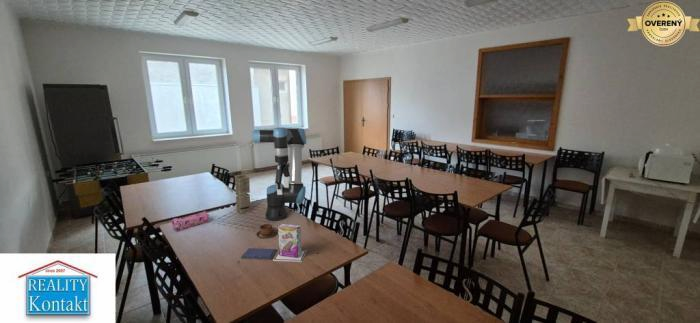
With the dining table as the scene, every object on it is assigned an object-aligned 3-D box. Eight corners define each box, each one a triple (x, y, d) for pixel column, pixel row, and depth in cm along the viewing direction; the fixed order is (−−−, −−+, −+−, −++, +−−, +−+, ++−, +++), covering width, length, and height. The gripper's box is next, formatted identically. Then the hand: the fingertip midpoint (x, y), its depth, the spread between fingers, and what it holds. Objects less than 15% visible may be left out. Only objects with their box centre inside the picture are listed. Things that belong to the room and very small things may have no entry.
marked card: (280, 249, 162) (280, 249, 162) (306, 250, 161) (306, 250, 160) (272, 260, 150) (272, 260, 150) (301, 261, 149) (301, 261, 149)
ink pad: (249, 249, 162) (248, 247, 162) (277, 250, 161) (276, 248, 161) (241, 258, 152) (240, 256, 152) (270, 259, 151) (270, 257, 151)
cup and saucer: (275, 230, 188) (274, 221, 187) (277, 238, 177) (277, 228, 176) (255, 233, 184) (255, 224, 183) (257, 241, 173) (256, 231, 172)
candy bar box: (278, 256, 154) (277, 226, 151) (282, 251, 159) (281, 223, 156) (298, 258, 152) (297, 228, 149) (302, 253, 156) (301, 225, 153)
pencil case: (176, 234, 183) (175, 220, 181) (171, 230, 189) (170, 217, 188) (211, 224, 199) (210, 212, 197) (205, 221, 205) (204, 208, 203)
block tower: (241, 216, 214) (239, 177, 208) (236, 213, 219) (233, 175, 214) (251, 213, 219) (249, 175, 214) (246, 210, 225) (243, 173, 220)
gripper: (281, 151, 178) (283, 184, 182) (267, 159, 154) (269, 197, 158) (293, 151, 177) (295, 184, 182) (281, 159, 153) (283, 197, 157)
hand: (283, 190), depth 170 cm, fingers open, 13 cm apart
